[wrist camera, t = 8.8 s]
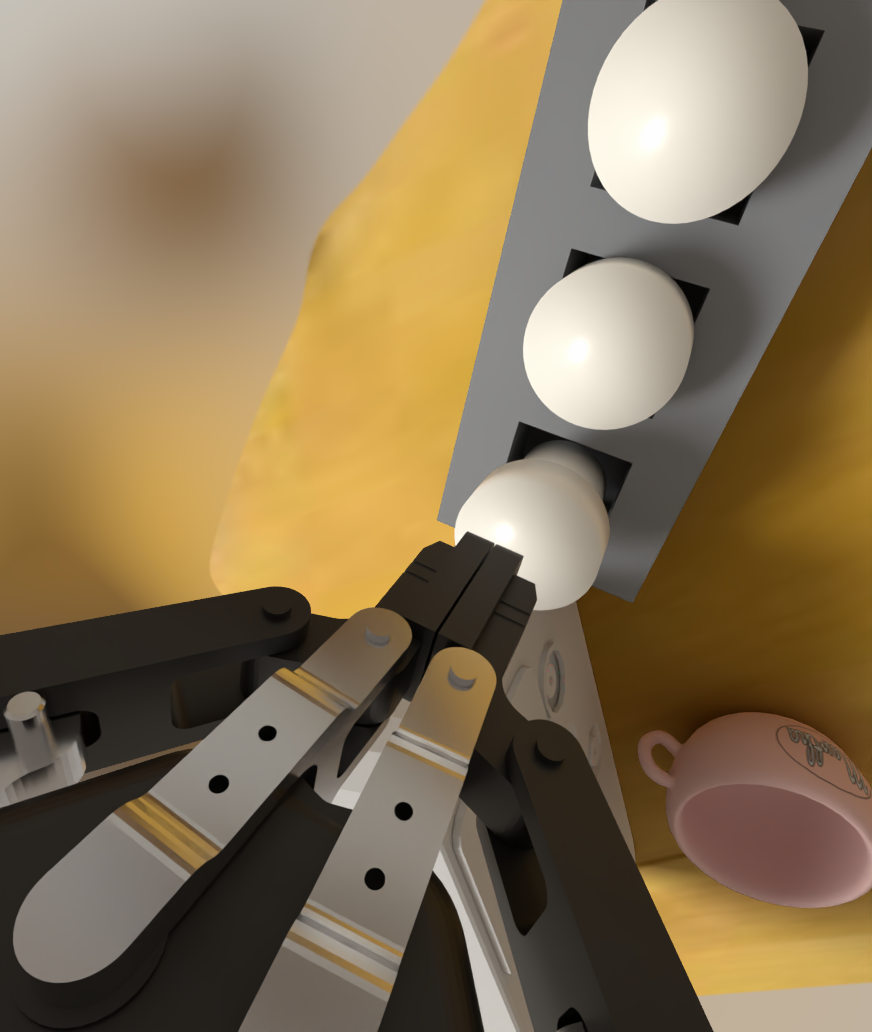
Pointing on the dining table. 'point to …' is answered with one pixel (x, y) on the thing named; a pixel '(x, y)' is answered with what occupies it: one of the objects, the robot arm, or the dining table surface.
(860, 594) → the dining table surface
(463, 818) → the rounded white slab
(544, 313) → the knob
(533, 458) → the knob
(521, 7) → the dining table surface
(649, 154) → the knob
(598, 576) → the mount
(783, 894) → the mug
